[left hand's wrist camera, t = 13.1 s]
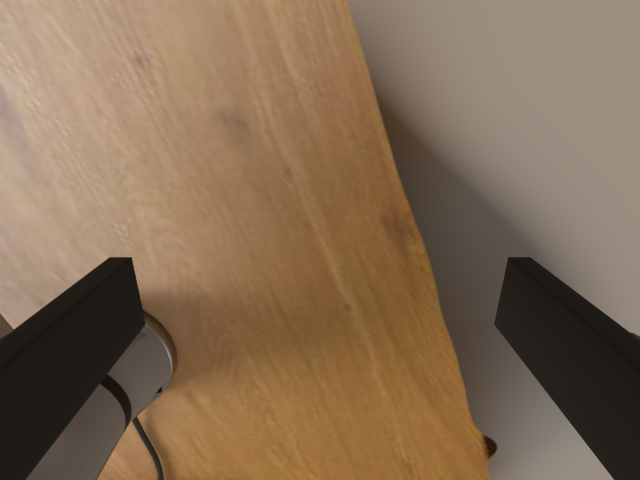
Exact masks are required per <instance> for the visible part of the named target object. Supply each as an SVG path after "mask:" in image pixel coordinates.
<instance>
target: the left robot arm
mask: <svg viewBox="0 0 640 480" xmlns="http://www.w3.org/2000/svg"><path fill="white" fill-rule="evenodd" d="M495 326H496V327H497V328H498V330H499V331H500V332H501V333H502V335H503V336H504V337H505V339H506V340H507V341H508V343H509V344H510V345H511V347H512V348H513V349H514V350H515V352H516V353H517V354H518V355H519V357H520V358H521V359H522V361H523V362H524V363H525V365H526V366H527V367H528V369H529V370H530V371H531V372H532V374H533V375H534V376H535V378H536V379H537V380H538V381H539V383H540V384H541V385H542V387H543V388H544V389H545V391H546V392H547V393H548V394H549V396H550V397H551V398H552V400H553V401H554V402H555V404H556V405H557V406H558V407H559V409H560V410H561V411H562V413H563V414H564V415H565V416H566V418H567V419H568V420H569V422H570V423H571V424H572V426H573V427H574V428H575V429H576V431H577V432H578V433H579V435H580V436H581V437H582V439H583V440H584V441H585V442H586V444H587V445H588V446H589V448H590V449H591V450H592V452H593V453H594V454H595V455H596V457H597V458H598V459H599V461H600V462H601V463H602V464H603V466H604V467H605V468H606V470H607V471H608V472H609V473H610V475H611V476H612V477H613V479H614V480H640V336H638V335H636V334H634V333H630V332H628V331H627V330H626V329H624V328H623V327H622V326H620V325H619V324H618V323H616V322H615V321H614V320H612V319H611V318H610V317H608V316H607V315H606V314H604V313H603V312H602V311H600V310H599V309H598V308H597V307H595V306H594V305H593V304H591V303H590V302H589V301H587V300H586V299H585V298H583V297H582V296H581V295H579V294H578V293H577V292H575V291H574V290H573V289H571V288H570V287H569V286H567V285H566V284H565V283H564V282H562V281H561V280H559V279H558V278H557V277H556V276H554V275H553V274H552V273H550V272H549V271H548V270H546V269H545V268H544V267H542V266H541V265H540V264H538V263H537V262H536V261H534V260H533V259H532V258H530V257H509V258H508V262H507V266H506V271H505V276H504V281H503V286H502V290H501V295H500V300H499V304H498V309H497V314H496V319H495ZM176 365H177V354H176V349H175V346H174V343H173V341H172V339H171V337H170V336H169V334H168V333H167V331H166V330H165V329H164V328H163V327H162V326H161V325H160V324H159V323H158V322H157V321H156V320H155V319H153V318H152V317H151V316H149V315H148V314H146V313H144V312H143V309H142V304H141V300H140V295H139V290H138V285H137V281H136V276H135V271H134V266H133V262H132V257H110V258H108V259H107V260H106V261H104V262H103V263H102V264H100V265H99V266H98V267H96V268H95V269H94V270H92V271H91V272H90V273H88V274H87V275H86V276H84V277H83V278H82V279H80V280H79V281H78V282H76V283H75V284H74V285H73V286H71V287H70V288H69V289H67V290H66V291H65V292H63V293H62V294H61V295H59V296H58V297H57V298H55V299H54V300H53V301H51V302H50V303H49V304H47V305H46V306H45V307H43V308H42V309H41V310H39V311H38V312H37V313H36V314H34V315H33V316H32V317H30V318H29V319H28V320H26V321H25V322H24V323H22V324H21V325H20V326H18V327H17V328H16V329H13V328H12V327H11V326H10V325H9V323H8V322H7V321H6V320H5V319H4V317H3V316H2V315H1V314H0V480H97V479H98V477H99V475H100V473H101V472H102V470H103V468H104V466H105V464H106V463H107V461H108V459H109V457H110V456H111V454H112V452H113V450H114V449H115V447H116V445H117V443H118V442H119V440H120V438H121V437H122V435H123V433H124V431H125V430H126V428H127V426H128V425H129V423H130V422H131V421H132V422H133V424H134V426H135V428H136V429H137V431H138V433H139V435H140V437H141V439H142V441H143V442H144V444H145V446H146V447H147V449H148V451H149V453H150V454H151V456H152V458H153V461H154V463H155V466H156V469H157V473H158V480H164V478H163V471H162V467H161V464H160V461H159V458H158V456H157V454H156V452H155V450H154V448H153V446H152V444H151V443H150V441H149V439H148V437H147V436H146V434H145V432H144V430H143V428H142V426H141V424H140V422H139V421H138V419H137V417H136V416H137V415H138V414H140V413H141V412H142V411H143V410H144V409H145V408H146V407H148V406H149V405H150V404H151V403H152V402H153V401H154V400H155V399H157V398H158V397H159V396H160V395H161V394H162V393H163V392H164V391H165V389H166V388H167V386H168V384H169V383H170V381H171V379H172V377H173V375H174V373H175V370H176Z"/></svg>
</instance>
